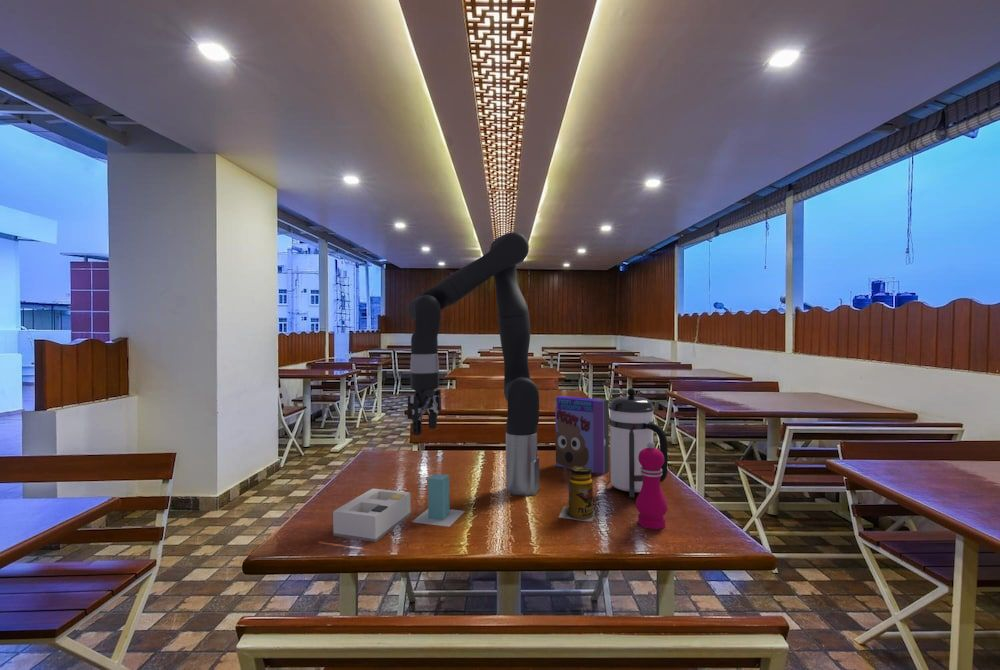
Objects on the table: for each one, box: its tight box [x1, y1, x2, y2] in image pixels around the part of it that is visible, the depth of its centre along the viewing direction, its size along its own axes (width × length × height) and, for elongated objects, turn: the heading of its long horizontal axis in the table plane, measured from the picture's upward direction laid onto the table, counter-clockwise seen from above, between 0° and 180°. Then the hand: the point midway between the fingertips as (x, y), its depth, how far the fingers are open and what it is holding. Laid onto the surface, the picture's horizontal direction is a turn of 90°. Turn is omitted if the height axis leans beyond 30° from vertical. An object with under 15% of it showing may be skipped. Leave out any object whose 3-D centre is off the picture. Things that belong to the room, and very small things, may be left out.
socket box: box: [332, 488, 411, 543], centre depth 112 cm, size 11×16×6 cm
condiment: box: [558, 466, 596, 522], centre depth 118 cm, size 7×8×12 cm
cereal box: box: [554, 395, 610, 476], centre depth 157 cm, size 17×5×24 cm, turn 55°
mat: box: [411, 508, 465, 528], centre depth 117 cm, size 10×10×1 cm
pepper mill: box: [635, 441, 668, 530], centre depth 112 cm, size 7×7×20 cm
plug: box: [427, 473, 451, 520], centre depth 116 cm, size 4×4×10 cm
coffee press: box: [605, 388, 669, 500], centre depth 134 cm, size 17×16×30 cm
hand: (425, 431), depth 123 cm, fingers open, 8 cm apart
